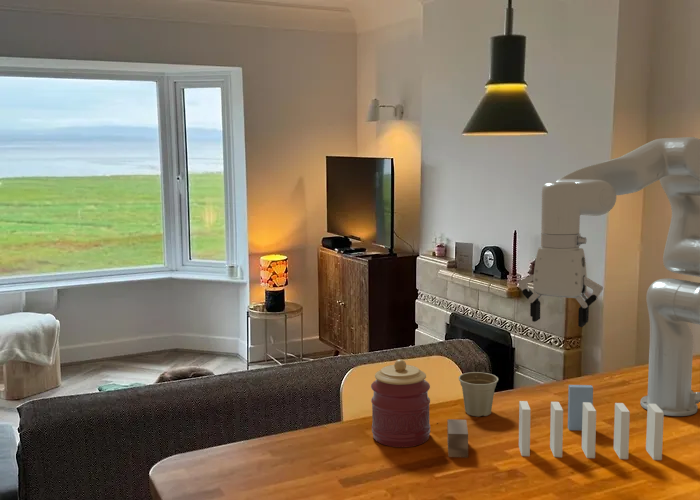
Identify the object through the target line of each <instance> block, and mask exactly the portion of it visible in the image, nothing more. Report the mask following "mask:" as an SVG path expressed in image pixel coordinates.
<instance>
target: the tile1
mask: <svg viewBox="0 0 700 500" xmlns="http://www.w3.org/2000/svg"><path fill="white" fill-rule="evenodd" d="M646 413H647V414H646V436H645V437H646V439H645V450H646V452H647V453H648V455H649V456H650V457H651V458H652V460H653V461H662V460H663V440H664V438H663V436H664V420H665V419H664V417H665V415H664V412H663V411H662V410H661V409H660V408H659V407H658V406H657V405H656V404H648V407H647V412H646Z"/></svg>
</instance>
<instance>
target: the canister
mask: <svg viewBox="0 0 700 500" xmlns="http://www.w3.org/2000/svg"><path fill="white" fill-rule="evenodd" d="M374 378H375V380H374V381H373V382H371V385H370V388H371V390H372V391H373V396H372V397H371V400H370V402H371V405H372V407H371V409H372V410H371V413H372V417H371V418H372V421H371V422H372V425H371V433H372V437H373V439H374V440H375V441H376V442H377V443H379V444H381V445H383V446H387V447H393V448H411V447H417V446H419V445H422V444H425V442H427V441H428V440H429V438H430V433H431V424H430V404H431V399H430V397H429V395H428V394H429V393H428V392H429V390H430V389H431V385H430V382H428V381H427V380H426V378H427V373H425V372H424V371H423V370H421V369H420V368H419V367H417V366H414V365H410V364H407V363H406V361H405V360H404V359H399V358H398V359H396V360H395V362H394V364H389V365H386V366H384V367H382V368H381V369H380V370H378V371H376V373H375V374H374Z"/></svg>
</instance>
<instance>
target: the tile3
mask: <svg viewBox="0 0 700 500" xmlns="http://www.w3.org/2000/svg"><path fill="white" fill-rule="evenodd" d="M596 429H597V410H596V409H595V407H594V404H593V405H592V404H591V402H583V412H582V430H581V449H582V451H583V453H584V455H585V457H586V459H596V436H597V435H596V432H597V430H596Z"/></svg>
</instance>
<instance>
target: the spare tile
mask: <svg viewBox="0 0 700 500" xmlns="http://www.w3.org/2000/svg"><path fill="white" fill-rule="evenodd" d="M567 397H568V399H567V401H568V402H567V429H568V431H582V412H583V402H591V404H592V405H593V406H594V387H593V385H590V384H568V393H567Z"/></svg>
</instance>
